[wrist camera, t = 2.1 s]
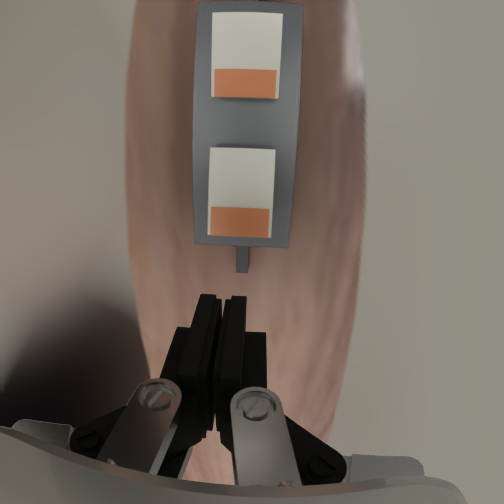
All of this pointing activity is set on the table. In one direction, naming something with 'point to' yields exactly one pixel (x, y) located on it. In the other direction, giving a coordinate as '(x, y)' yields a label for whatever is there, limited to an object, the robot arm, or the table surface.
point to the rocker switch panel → (247, 124)
